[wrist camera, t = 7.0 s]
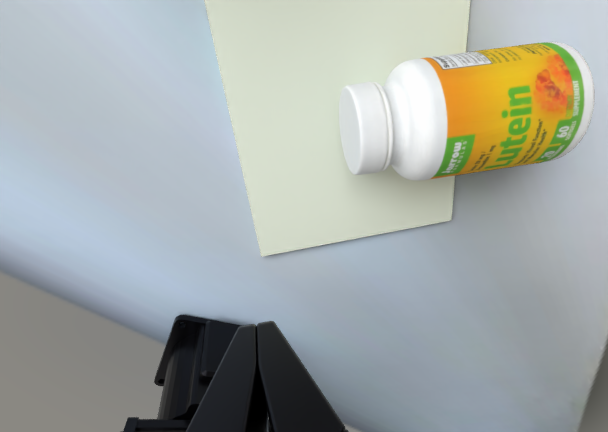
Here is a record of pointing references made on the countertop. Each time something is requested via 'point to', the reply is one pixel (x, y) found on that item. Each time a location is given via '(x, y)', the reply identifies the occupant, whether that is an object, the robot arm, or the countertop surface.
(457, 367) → the countertop surface
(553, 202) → the countertop surface
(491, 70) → the supplement bottle
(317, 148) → the sage mat
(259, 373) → the robot arm
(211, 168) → the countertop surface
